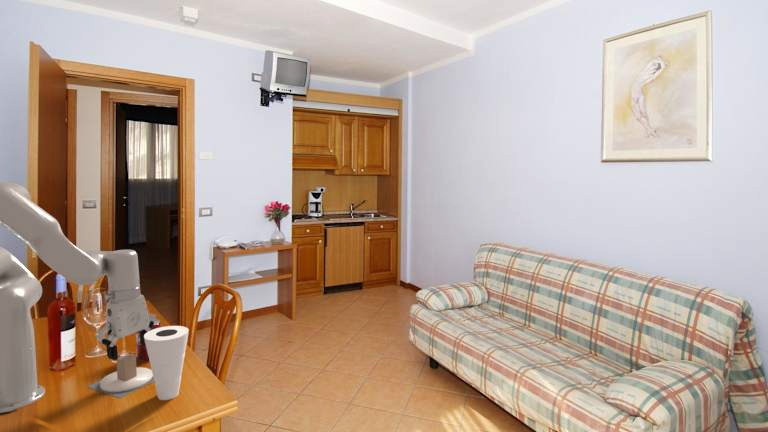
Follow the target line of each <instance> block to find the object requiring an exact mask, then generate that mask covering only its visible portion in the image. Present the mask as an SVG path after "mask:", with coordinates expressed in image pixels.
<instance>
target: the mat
mask: <svg viewBox="0 0 768 432" xmlns="http://www.w3.org/2000/svg"><path fill="white" fill-rule="evenodd" d="M101 380H102V379H101ZM101 380H98V381H95V382H93V383H91V384H89V385H86V388H89V389H92V390H95V391H97V392H100V393H104V394H106V395H108V396H112V397H115V398H118V399H122V398H123V397H125V396H127V395H129V394H132V393H134V392H136V391H139V390H140V389H142V388H143V387H146V386H148V385H150V384H152V383H155V382H154V377H153V378H152V380H151V381H150V382H148V383H147V384H145V385H144V386H141V387H139V388H136V389H133V390H130V391H125V392H116V393H112V392H105V391H103V390H101V389H100V381H101Z"/></svg>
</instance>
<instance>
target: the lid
mask: <svg viewBox="0 0 768 432" xmlns="http://www.w3.org/2000/svg"><path fill="white" fill-rule="evenodd" d="M152 378H153V373H152V369H151V368H148V367H139V366H137V355H136V356H135V355H133V354H132V355H131V354H130V353H128V354H125V355H122V356H120V357H118V359H117V360H116V371H114V372H112V373H109V374H107V375H105V376H104V377H103V378H102V379H101V381H100V380H99V381H100V389H101V390H103V391H105V392H112V393H116V392H125V391H130V390H133V389H136V388H139V387H141V386H144V385H145V384H147V383H148V382H150V381H151V380H152ZM144 387H145V386H144Z"/></svg>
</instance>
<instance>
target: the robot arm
mask: <svg viewBox="0 0 768 432" xmlns="http://www.w3.org/2000/svg"><path fill="white" fill-rule="evenodd" d="M0 226H2V227H3V228H5V229H6V230H8V231H9V232H10V233H12V234H13V235H15V237H18V238H19V239H20V240H21V241H23V242H24V243H25V244H26V245H28V246H29V248H30V249H31V250H32V252H34V253H35V254H36V255H37V257H38V258H39V259H40V260H42V262H43V263H44V264H45V265H47V266H48V267H49V268H50V269H52V270H53V271H55V272H56V273H57V274H59V275H61V276H62V277H64V278H65V279H66V280H68V281H69V282H71V283H73V284H76V285H80V286H81V285H82V286H87V285H91V284H94V283H95V282H96V281H98V280H99V279H100V278H101V277H103V276H107V283H108V285H107V286H108V291H107V292H108V294H106V295H105V296H104V298H105V300H107V302H106V303H107V304H106V312H105V325H104V326H103V327H102V328H101V329H100V330H99V331H98V332H96V333H95V335H94V337H95V338H96V339H97V341H98V342H99V343H100V344H102V345H104V346H106V347H105V348H106V355H107V358H108V359H110V360H114V361H117V359H118V358H119V355H118V346H117V345H116V343H117V341H118V340H119V339H123V338H126V337H128V336H131V335H134V334H136V332H139V331H141V332H140V344H141V345H144V346H146V344H145V340H144V335H145V333H147V332H148V331H151V328H152V326H153V325H154V321H155V319H157V314H156V313H155V314H154V313H150V312H149V310H148V305H147V302H146V298H145V295H144V294H141V284H140V281H141V280H140V270H139V269H140V268H139V258H138V253H137V252H136V250H134V249H118V250H113V251H111V250H110V251H109V250H89V251H85V252H84V251H83V250H81V249H80V248H79V247H77V246H76V245H74V244H73V243H72V241H70V240H69V239H68V238H67V236H65V234H64V233H63V230H62V228H61V224H60V223H59V221H58V220H57V219H56V218H55V217H54V216H53V215H51V214H49V212H47V211H45V210H44V209H43V208H41V207H40V206H39V205H38V204H36V203H35V202H33V201H32V198H31V194H30V192H29V191H28V190H27V188H26V187H25V186H23V185H21V184H18V183H16V182H12V181H11V182H10V181H0ZM42 294H43V287H42V284H41V282H40V281H39V280H38V279H37V277H36V276H35V275H34V274H33V273H32V272H31V271H30V270H29V269H28V268H27V267H26V266H25V265H24V264H23V263H22V262H21V261H20V260H19V259H18V258H17V257H16V256H14V254H13V253H11V252H10V251H9V250H7V249H6V248H4V247H2V246H0V414H4V413H8V412H13V411H17V409H19V408H24V407H25V406H28V405H30V404H33V403H35V402H37V401H39V400H40V399H41V398H42V397H43V396H44V395H45V393H46V388H45V387H44V386H42V385H38V375H37V374H38V373H37V359H36V358H37V357H36V354H37V353H36V341H35V339H36V338H35V329H34V323H33V318H32V314H31V308H32V307H34V305H36V304H37V303H38V301H40V299H41V297H42ZM108 300H109V301H108ZM105 335H107V337H105Z"/></svg>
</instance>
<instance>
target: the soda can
mask: <svg viewBox="0 0 768 432" xmlns="http://www.w3.org/2000/svg"><path fill="white" fill-rule="evenodd" d="M160 327H162V322H161V321H160V319H157V318H155V321H154V325H153V326H152V328H151V330H153V329H156V328H160ZM140 332H141V331H139V332H136V333H135V342H136V343H135V344H136V350H135V351H136V361H139V362H150V361H149V356H148V352H147V348H146V346H144V345H141V344H140Z"/></svg>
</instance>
